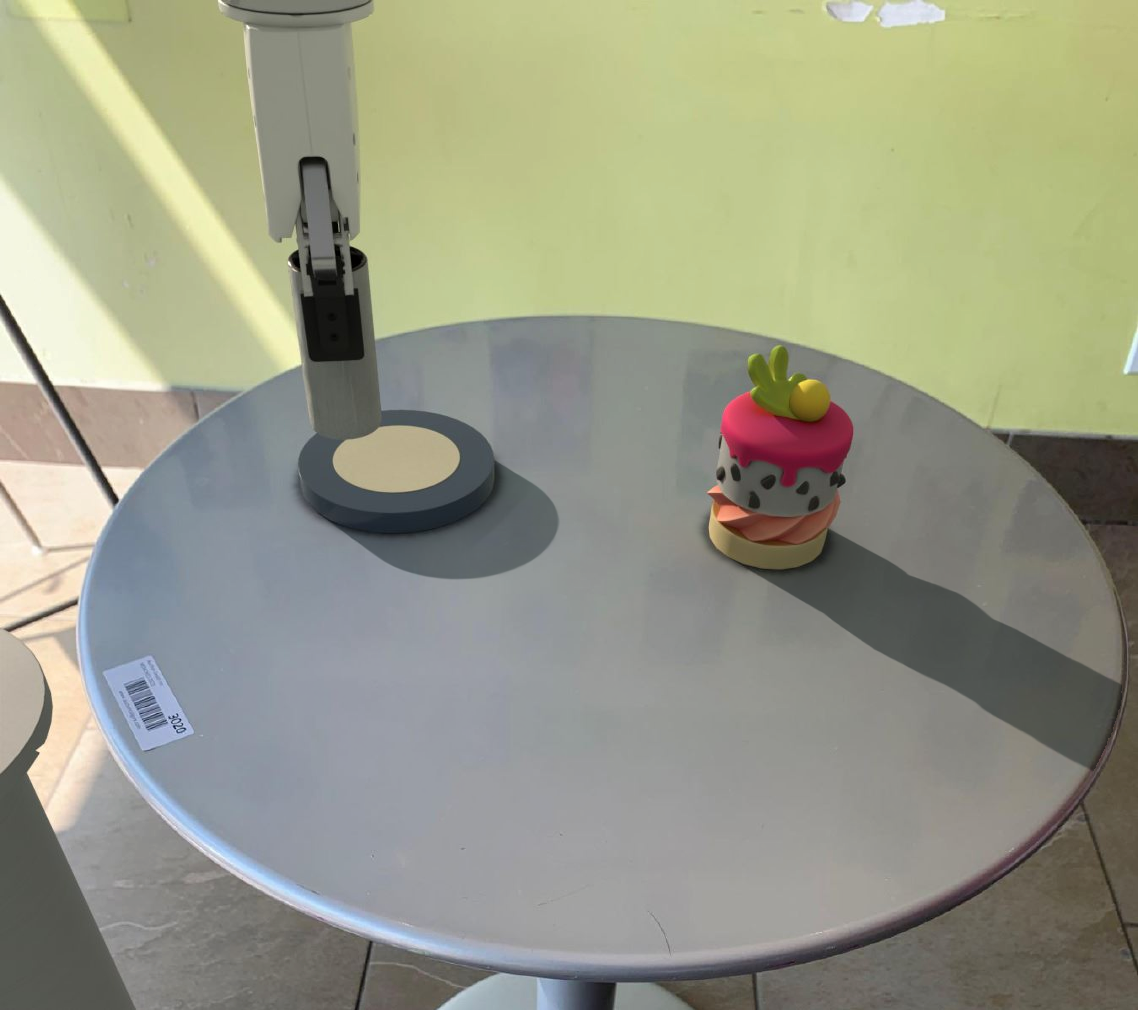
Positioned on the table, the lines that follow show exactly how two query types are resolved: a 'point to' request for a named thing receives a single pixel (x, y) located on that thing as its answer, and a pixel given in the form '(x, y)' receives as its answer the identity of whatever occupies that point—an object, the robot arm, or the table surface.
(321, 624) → the table surface
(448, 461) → the plate
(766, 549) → the cake
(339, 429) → the planter
